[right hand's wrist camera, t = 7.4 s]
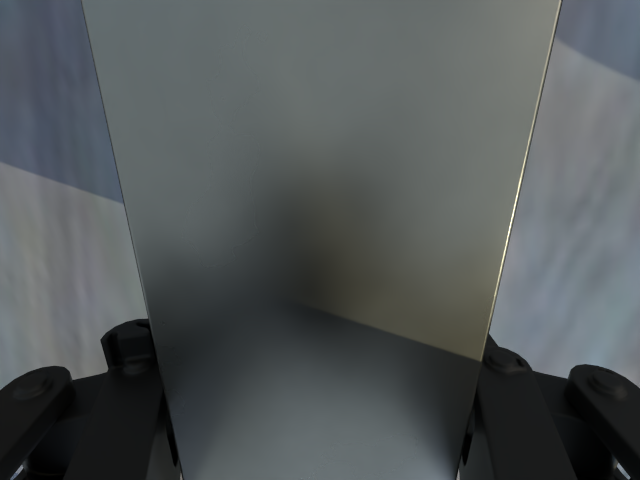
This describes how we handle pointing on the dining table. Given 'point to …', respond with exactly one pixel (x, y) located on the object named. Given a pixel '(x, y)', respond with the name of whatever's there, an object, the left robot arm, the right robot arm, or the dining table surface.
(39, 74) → the dining table surface
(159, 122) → the bar
